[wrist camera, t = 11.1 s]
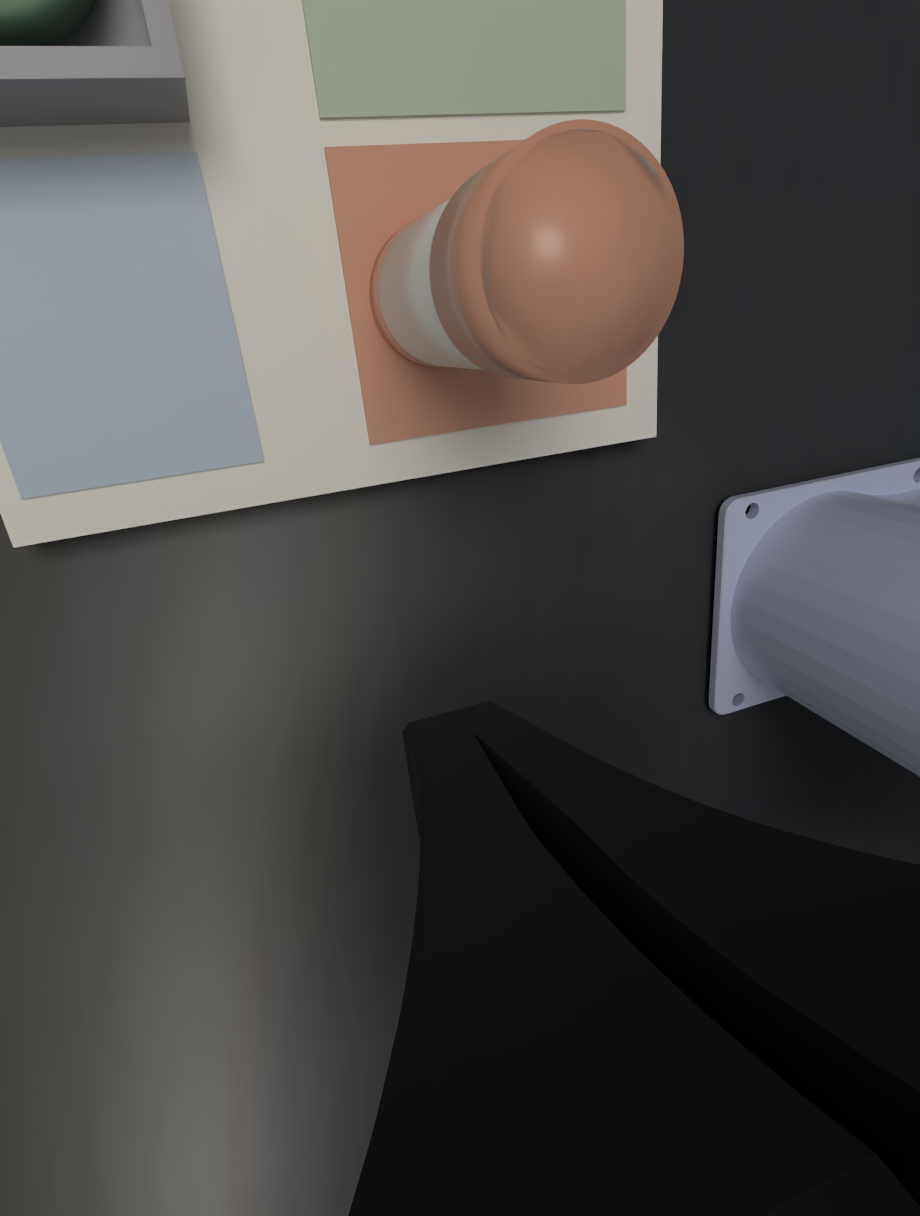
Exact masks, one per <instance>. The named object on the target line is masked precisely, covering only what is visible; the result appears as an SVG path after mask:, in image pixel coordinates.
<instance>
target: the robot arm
mask: <svg viewBox="0 0 920 1216" xmlns="http://www.w3.org/2000/svg"><path fill="white" fill-rule="evenodd" d="M749 505H750V510H749V512H748V513H747V515H746V514H745V512H746V508H747V507H748V506H749ZM735 695H736V697H735V698H734V696H735ZM783 696H788V697H790V698H791V699H793V700H795V701H796V702H798V703H800V704H801V705H803V706H804V707H806V708H808V709H809V710H811V711H813V712H814V713H816V714H818V715H819V716H821V717H823V718H824V719H826V720H827V721H829V722H831V723H832V724H834V725H836V726H837V727H839V728H841V729H842V730H844V731H846V732H847V733H849V734H850V735H852V736H854V737H855V738H857V739H859V740H860V741H862V742H864V743H865V744H867V745H868V746H870V747H872V748H873V749H875V750H877V751H878V752H880V753H882V754H883V755H885V756H887V757H888V758H890V759H891V760H893V761H895V762H896V763H898V764H900V765H901V766H903V767H905V768H906V769H908V770H910V771H911V772H913V773H914V774H916V775H918V776H919V777H920V458H915V459H910V460H906V461H901V462H896V463H891V464H886V465H881V466H877V467H872V468H867V469H862V470H857V471H852V472H848V473H843V474H838V475H833V476H828V477H823V478H819V479H814V480H809V481H804V482H799V483H795V484H790V485H785V486H780V487H775V488H770V489H766V490H761V491H756V492H751V493H746V494H741V495H737V496H732V497H730V498H728V499H727V500H725V501H724V502H723V504H722V506H721V507H720V511H719V518H718V536H717V555H716V574H715V592H714V611H713V630H712V648H711V667H710V686H709V707H710V708H711V709H712V710H713V711H714V712H716V713H717V714H720V715H724V714H728V713H731V712H734V711H738V710H741V709H744V708H747V707H751V706H754V705H757V704H760V703H763V702H767V701H770V700H773V699H776V698H780V697H783ZM733 698H734V699H733ZM403 739H404V745H405V751H406V757H407V763H408V770H409V776H410V782H411V788H412V795H413V801H414V807H415V813H416V819H417V826H418V832H419V835H420V871H419V885H418V897H417V907H416V916H415V925H414V933H413V941H412V947H411V954H410V960H409V966H408V972H407V979H406V985H405V991H404V996H403V1002H402V1007H401V1012H400V1017H399V1022H398V1027H397V1032H396V1036H395V1040H394V1045H393V1049H392V1053H391V1057H390V1062H389V1066H388V1070H387V1075H386V1079H385V1083H384V1088H383V1092H382V1096H381V1100H380V1105H379V1109H378V1113H377V1117H376V1121H375V1125H374V1129H373V1133H372V1136H371V1140H370V1144H369V1148H368V1151H367V1155H366V1158H365V1161H364V1165H363V1168H362V1171H361V1175H360V1178H359V1182H358V1185H357V1188H356V1192H355V1195H354V1199H353V1202H352V1205H351V1209H350V1212H349V1216H920V865H918V864H913V863H908V862H903V861H898V860H894V859H890V858H885V857H881V856H877V855H873V854H868V853H864V852H860V851H856V850H851V849H847V848H844V847H840V846H836V845H833V844H829V843H825V842H822V841H818V840H814V839H811V838H807V837H803V836H800V835H796V834H793V833H789V832H785V831H782V830H779V829H775V828H772V827H769V826H766V825H762V824H759V823H756V822H753V821H750V820H747V819H744V818H741V817H738V816H735V815H733V814H730V813H727V812H724V811H721V810H718V809H716V808H713V807H710V806H707V805H704V804H701V803H699V802H696V801H693V800H691V799H688V798H685V797H683V796H680V795H678V794H675V793H673V792H670V791H668V790H665V789H663V788H661V787H659V786H656V785H654V784H652V783H649V782H647V781H645V780H643V779H640V778H638V777H636V776H634V775H631V774H629V773H627V772H624V771H622V770H620V769H618V768H616V767H614V766H612V765H610V764H608V763H605V762H603V761H601V760H599V759H597V758H595V757H593V756H591V755H589V754H587V753H585V752H583V751H581V750H579V749H577V748H576V747H574V746H572V745H570V744H568V743H566V742H564V741H562V740H560V739H558V738H556V737H555V736H553V735H551V734H549V733H547V732H545V731H544V730H542V729H540V728H538V727H536V726H534V725H533V724H531V723H529V722H527V721H525V720H524V719H522V718H520V717H518V716H516V715H514V714H513V713H511V712H509V711H507V710H505V709H503V708H502V707H500V706H498V705H496V704H494V703H492V702H490V701H488V702H484V703H481V704H477V705H473V706H470V707H466V708H462V709H459V710H455V711H451V712H448V713H444V714H440V715H437V716H433V717H429V718H426V719H422V720H418V721H415V722H411V723H409V724H408V725H407V727H406V728H405V729H404V731H403Z"/></svg>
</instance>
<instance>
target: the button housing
mask: <svg viewBox="0 0 920 1216" xmlns="http://www.w3.org/2000/svg"><path fill="white" fill-rule="evenodd" d="M179 122H190V116H189V108H188V99H187V90H186V82H185V75H184V70H183V66H182V61H181V56H180V52H179V47H178V42H177V38H176V33H175V28H174V24H173V19H172V15H171V10H170V5H169V1H168V0H94V3H93V5H92V7H91V9H90V11H89V13H88V15H87V16H86V18H85V19H84V20H83V22H82V23H81V25H80V26H79V27H78V28H77V29H76V30H75V31H74V32H73V33H72V34H71V35H70V36H68V37H67V38H65V39H63V40H62V41H60V42H59V43H57V44H54V45H52V46H0V127H21V126H60V125H100V124H139V123H179Z"/></svg>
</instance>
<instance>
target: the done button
mask: <svg viewBox="0 0 920 1216" xmlns="http://www.w3.org/2000/svg"><path fill="white" fill-rule="evenodd" d="M93 3H94V0H0V46H52V45H54V44H57V43H59V42H60V41H62V40H63V39H65V38H67V37H68V36H70V35H71V34H72V33H73V32H74V31H75V30H76V29H77V28H78V27H79V26H80V25H81V23H82V22H83V20H84V19H85V18H86V16H87V15H88V13H89V11H90V9H91V7H92V5H93Z"/></svg>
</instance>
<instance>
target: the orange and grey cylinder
mask: <svg viewBox="0 0 920 1216" xmlns="http://www.w3.org/2000/svg"><path fill="white" fill-rule="evenodd" d="M683 257H684V235H683V227H682V219H681V214H680V210H679V206H678V202H677V199H676V196H675V193H674V190H673V187H672V185H671V183H670V181H669V179H668V177H667V175H666V173H665V171H664V170H663V168H662V167H661V165H660V164H659V162H658V160H657V159H656V158H655V157H654V156H653V154H652V153H651V152H650V151H649V150H648V148H647V147H646V146H644V145H643V144H642V143H641V142H640V141H639V140H638V139H636V138H635V137H634V136H632V135H631V134H629V133H628V132H626V131H624V130H623V129H621V128H618V127H616V126H614V125H611V124H609V123H605V122H601V121H597V120H586V119H577V120H568V121H563V122H560V123H556V124H553V125H550V126H548V127H546V128H544V129H542V130H540V131H538V132H536V133H534V134H533V135H531V136H530V137H528V138H527V139H526V140H524V141H523V142H521V143H520V144H518V145H517V146H515V147H514V148H512V149H511V150H509V151H508V152H506V153H505V154H503V155H502V156H500V157H499V158H497V159H496V160H494V161H493V162H492V163H490V164H489V165H487V166H486V167H484V168H483V169H481V170H480V171H478V172H477V173H475V174H474V175H473V176H471V177H470V178H469V179H468V180H466V181H465V182H464V183H463V184H462V185H461V186H460V187H459V188H458V190H457V191H456V192H455V193H454V195H453V196H452V197H451V198H450V199H448V200H447V201H445V202H444V203H442V204H441V205H439V206H437V207H436V208H434V209H433V210H431V211H430V212H428V213H427V214H425V215H423V216H422V217H420V218H418V219H416V220H414V221H412V222H411V223H409V224H407V225H406V226H404V227H403V228H401V229H400V230H398V231H397V232H396V233H394V234H393V235H392V236H391V237H390V238H389V239H388V240H387V242H386V243H385V244H384V245H383V247H382V248H381V250H380V252H379V253H378V255H377V257H376V260H375V262H374V265H373V268H372V272H371V277H370V287H369V295H370V304H371V309H372V313H373V317H374V320H375V322H376V325H377V327H378V329H379V331H380V332H381V334H382V336H383V337H384V339H385V340H386V341H387V343H388V344H389V345H390V346H391V347H392V348H393V349H394V350H395V351H396V352H397V353H399V354H400V355H401V356H403V357H404V358H406V359H408V360H410V361H412V362H414V363H417V364H420V365H424V366H432V367H443V368H446V367H455V368H467V369H480V370H485V371H487V372H490V373H492V374H494V375H498V376H502V377H506V378H514V379H523V380H533V381H543V382H553V383H563V384H587V383H592V382H596V381H600V380H603V379H605V378H608V377H611V376H613V375H615V374H616V373H618V372H620V371H622V370H624V369H625V368H626V367H628V366H629V365H630V364H632V363H633V362H634V361H636V360H637V359H638V358H639V357H640V356H641V355H642V354H643V353H644V352H645V351H646V350H647V349H648V347H649V346H650V345H651V344H652V343H653V341H654V340H655V339H656V337H657V336H658V334H659V333H660V331H661V330H662V328H663V326H664V324H665V322H666V320H667V318H668V316H669V314H670V312H671V309H672V307H673V304H674V302H675V299H676V296H677V292H678V289H679V285H680V280H681V274H682V269H683Z"/></svg>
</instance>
